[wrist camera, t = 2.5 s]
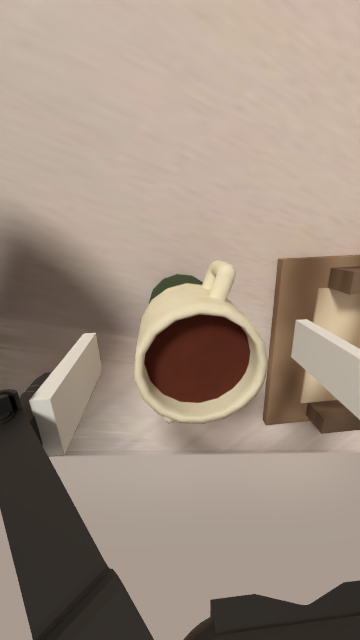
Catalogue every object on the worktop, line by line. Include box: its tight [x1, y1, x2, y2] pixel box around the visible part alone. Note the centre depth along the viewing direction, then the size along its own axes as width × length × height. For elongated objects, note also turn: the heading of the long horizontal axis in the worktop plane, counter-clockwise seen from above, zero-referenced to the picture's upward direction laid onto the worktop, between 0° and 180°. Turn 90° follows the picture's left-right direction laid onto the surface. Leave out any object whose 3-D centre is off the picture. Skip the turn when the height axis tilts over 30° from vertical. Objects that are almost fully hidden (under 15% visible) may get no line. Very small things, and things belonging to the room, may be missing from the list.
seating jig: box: [263, 255, 360, 434], centre depth 26 cm, size 18×20×4 cm
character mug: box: [134, 260, 268, 424], centre depth 18 cm, size 11×7×13 cm, turn 161°
